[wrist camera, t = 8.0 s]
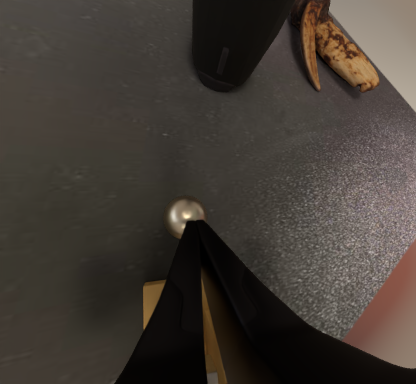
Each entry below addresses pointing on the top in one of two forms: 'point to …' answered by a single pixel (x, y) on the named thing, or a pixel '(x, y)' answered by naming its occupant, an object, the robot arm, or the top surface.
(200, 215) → the tap lever
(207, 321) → the tap bracket
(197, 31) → the portable speaker
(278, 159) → the top surface
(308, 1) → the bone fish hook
